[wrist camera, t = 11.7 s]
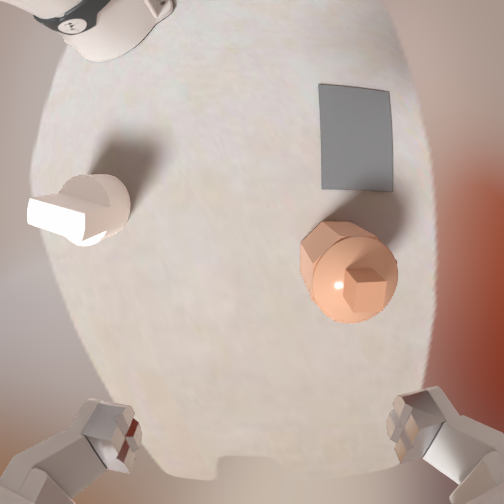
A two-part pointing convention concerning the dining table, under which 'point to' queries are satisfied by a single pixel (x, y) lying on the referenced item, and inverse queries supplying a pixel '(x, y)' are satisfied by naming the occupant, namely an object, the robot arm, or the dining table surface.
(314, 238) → the cloche
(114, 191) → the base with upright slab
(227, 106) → the dining table surface
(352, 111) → the mat
